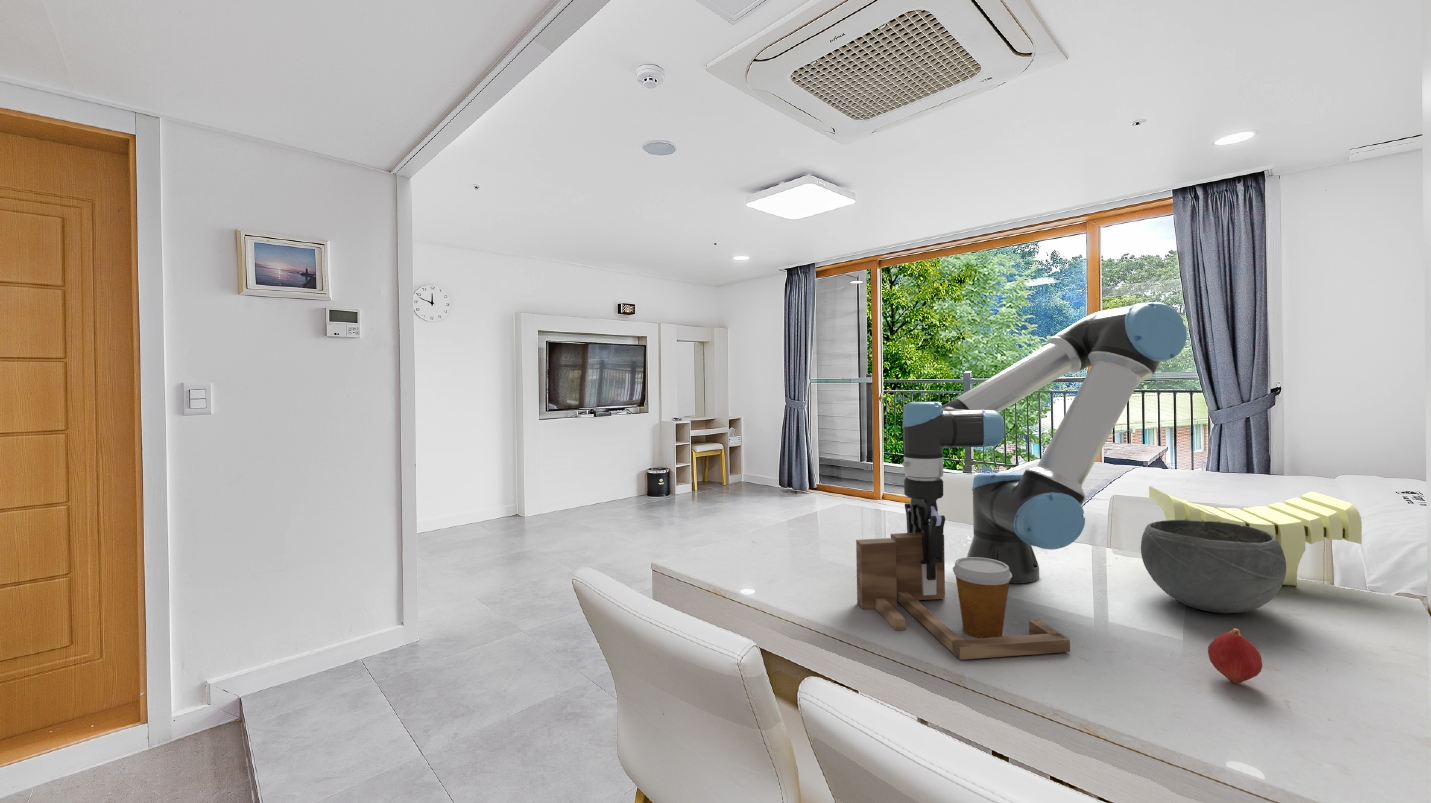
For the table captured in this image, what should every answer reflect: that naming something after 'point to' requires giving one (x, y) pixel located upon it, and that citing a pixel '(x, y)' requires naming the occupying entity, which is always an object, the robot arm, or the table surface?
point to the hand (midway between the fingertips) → (925, 590)
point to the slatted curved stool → (1279, 521)
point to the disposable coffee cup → (982, 595)
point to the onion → (1235, 656)
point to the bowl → (1214, 564)
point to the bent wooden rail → (907, 596)
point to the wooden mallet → (878, 579)
